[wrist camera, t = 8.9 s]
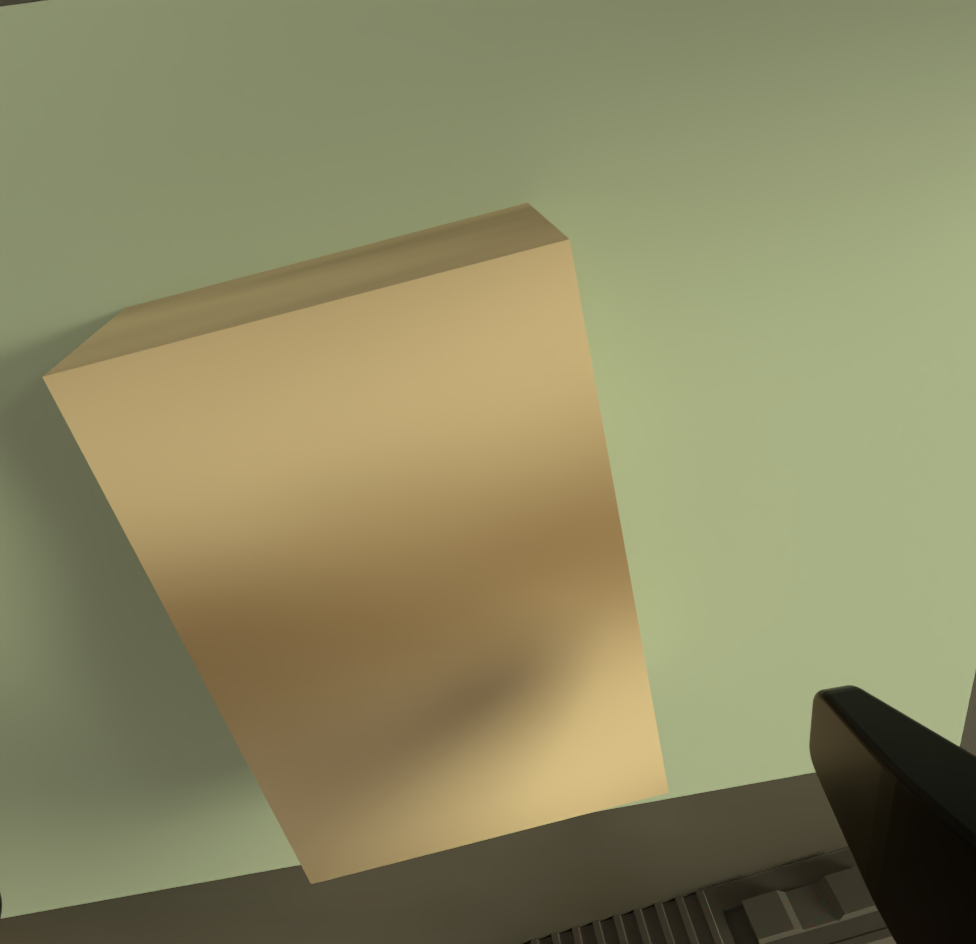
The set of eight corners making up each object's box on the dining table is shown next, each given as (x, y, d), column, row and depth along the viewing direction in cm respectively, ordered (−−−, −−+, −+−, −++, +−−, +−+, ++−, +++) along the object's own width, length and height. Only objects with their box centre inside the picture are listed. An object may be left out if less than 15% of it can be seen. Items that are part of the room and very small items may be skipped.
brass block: (620, 669, 15) (668, 792, 13) (325, 745, 15) (310, 884, 13) (527, 202, 11) (570, 239, 9) (125, 307, 11) (42, 376, 9)
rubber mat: (1114, -136, 11) (1145, -146, 10) (945, 729, 18) (959, 746, 17) (-577, 89, 10) (-624, 89, 9) (-30, 904, 17) (-42, 925, 16)
